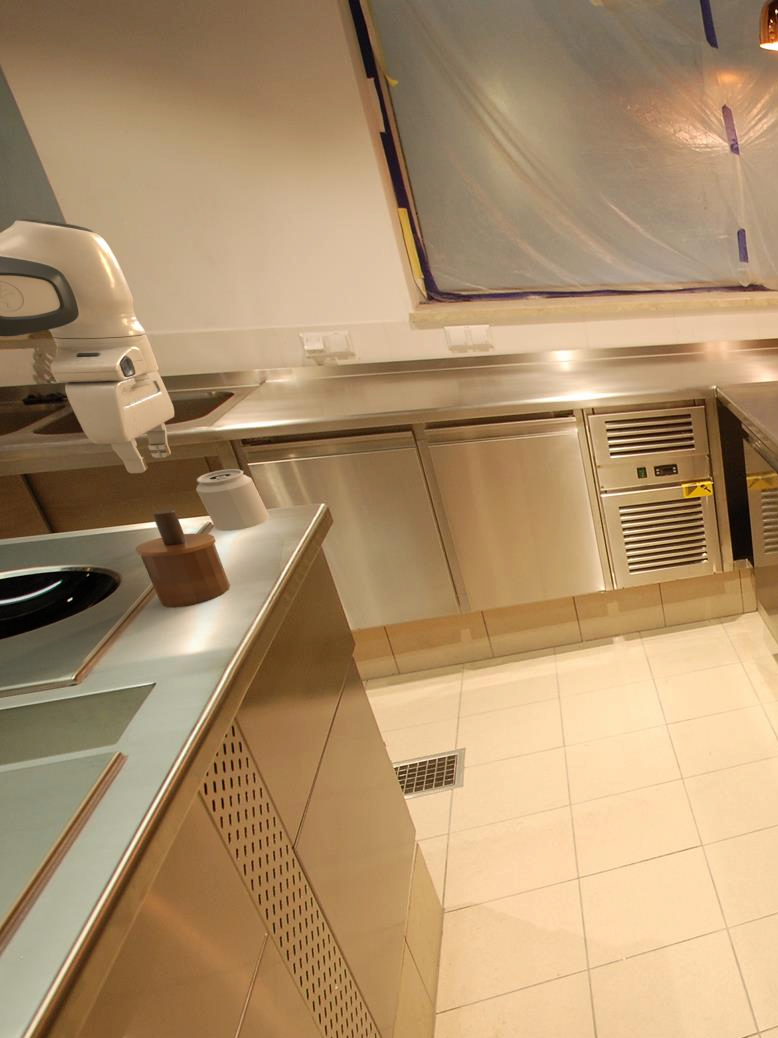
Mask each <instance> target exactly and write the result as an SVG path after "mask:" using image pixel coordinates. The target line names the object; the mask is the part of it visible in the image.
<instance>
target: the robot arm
mask: <svg viewBox="0 0 778 1038" xmlns="http://www.w3.org/2000/svg"><path fill="white" fill-rule="evenodd" d="M45 331H49V333H50V334H51V336H52V339H53V341H54V344H55V346H56V349H55V352H56V354H55V356H54V358H53V361H52V362H51V364H50V371H51V374H52V376H53V378H54V380H55V381H56V382H57V383H61V384H62V383H63V384H64V383H65V385H64V390H65V394H66V397H67V400H68V402H69V405H70V406H71V409H72V411H73V413H74V415H75V417H76V419H77V421H78V423H79V425H80V427H81V429H82V431H83V433H84V434H85V435H86V437H87V438H88V439H89V440H90V441H91V442H92V443H94V444H95V445H110V446H111V448H112V450H113V451H114V452H115V454H116V455H117V456H118V457H119V459H120V460H121V461H122V462H123V465H124V467H125V470H126V471H127V473H129V474H143V473H145V472H146V471H147V470H148V468H149V466H148V464H147V461H146V459H145V457H144V456H142V455H141V454H140V452H139V450H138V448H137V446H138V444H137V441H136V439H137V438H139V437H140V436H142V435H145V434H146V437H147V441H148V445H147V448H148V449H149V452H150V455H151V457H153V458H154V459H160V458H163V459H164V458H167V457H169V456H170V455H171V454H172V452H171V449H170V445H169V444H168V431H167V430H168V429H167V427H166V424H165V422H167V421H169V420H171V419H173V418H174V417H175V408H174V404H173V402H172V399H171V397H170V395H169V392H168V390H167V388H166V386H165V384H164V381H163V379H162V377H161V375H160V373H159V372H158V371H159V370H160V367H159V365H158V362H157V360H156V357H155V354H154V351H153V349H152V346H151V344H150V339H149V338H148V335H147V332H146V330H145V328H144V327H143V326H142V325H141V322H139V319H138V318H137V316H136V314H135V310H134V298H133V295H132V292H131V290H130V287H129V284H128V282H127V279H126V277H125V275H124V272H123V270H122V268H121V266H120V264H119V262H118V259H117V258H116V256H115V254H114V252H113V250H112V249H111V247H110V245H109V244H108V243H107V241H106V240H105V239H104V238H103V236H101V235H99V234H98V233H96V232H95V231H93V230H91V229H89V228H87V227H83V226H80V225H75V224H70V223H65V222H59V221H52V220H42V219H36V218H21V219H17V220H15V221H14V222H13V223H12V225H10V226H9V227H7V228H6V229H4V230H2V231H1V232H0V339H14V338H15V339H16V338H20V337H25V336H29V335H30V334H35V333H40V332H45Z"/></svg>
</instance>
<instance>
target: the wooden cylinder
mask: <svg viewBox="0 0 778 1038" xmlns="http://www.w3.org/2000/svg"><path fill="white" fill-rule="evenodd" d="M140 557H141V560H142V562H143V564H144V567H145V569H146V572H147V574H148V577H149V579H150V581H151V585H152V586H153V589H154V591H155V594H156V596H157V599H158V602H159V604H160V605H162V606H163V607H164V608H169V609H176V608H186V607H192V606H195V605H200V604H203V603H207V602H210V601H212V600H214V599H216V598H218V596H219V597H221V596H222V595H224V594H226V592H228V591H229V590H230V588H231V587H230V586H231V584H230V582H229V579H228V577H227V574H226V571H225V568H224V566H223V563H222V561H221V558H220V555H219V553H218V550H217V546H216V544H215V543H214V544H212V545H211V546H209V547H206V548H203V549H200V550H197V551H193V552H189V553H183V554H178V555H170V556H155V557H152V556H142V555H140Z"/></svg>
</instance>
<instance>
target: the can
mask: <svg viewBox="0 0 778 1038" xmlns="http://www.w3.org/2000/svg"><path fill="white" fill-rule="evenodd" d="M196 482H197V483H198V484H197V486H196V488H195V491H196V493H197V495H198V497H199V499H200V500H201V502H202V504H203V506H204V509H205V510H206V512H207V515H208V516H209V518H210V520H211V522H212V524H213V525H214V527H215V529H216V530H217V531H224V532H225V531H238V530H244V529H249V528H252V527H255V526H258V525H260V524H263V523H264V522H267V521H268V519H270V515H269V512H268V510H267V508H266V506H265V504H264V501H263V500H262V497H261V495H260V494H259V491H258V489H257V487H256V485H255V483H254V481H253V479H252V478H251V477H250V476H247V475H246V474H244V470H241V469H238V468H228V469H220V470H215V471H211V472H207V473H205V474H202V475H200V476H199V477H197V478H196Z"/></svg>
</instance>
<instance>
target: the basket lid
mask: <svg viewBox="0 0 778 1038" xmlns="http://www.w3.org/2000/svg"><path fill="white" fill-rule="evenodd" d="M151 514H152V517H153V520H154V522H155V525H156V528H157V530H158V532H159V535H160V537H158V538H154V539H151V540H148V541H144V542H143V543H141V544H139V545H137V546H136V547H135V552H136V554H137V555H140V556H141V555H142V556H152V557H155V556H170V555H178V554H183V553H189V552H193V551H197V550H200V549H203V548H206V547H209V546H211V545H212V544H215V543H216V539H215V536H214V535H212V534H209V533H185V532H184V530H183V528H182V525H181V523H180V520H179V518H178V515H177V512H176V510H175V509H173V508H172V509H171V508H168V509H167V508H166V509H158V510H155V511H152V512H151Z"/></svg>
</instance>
